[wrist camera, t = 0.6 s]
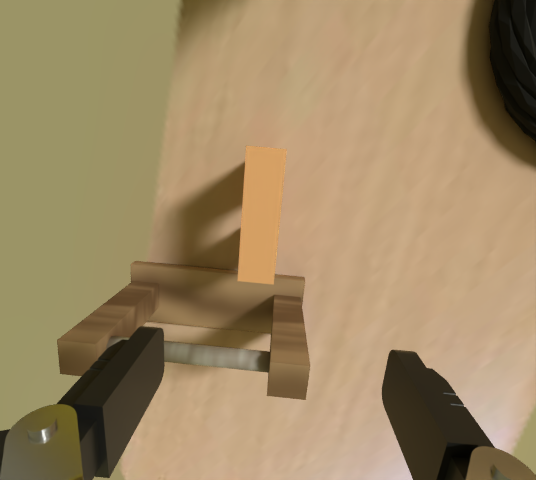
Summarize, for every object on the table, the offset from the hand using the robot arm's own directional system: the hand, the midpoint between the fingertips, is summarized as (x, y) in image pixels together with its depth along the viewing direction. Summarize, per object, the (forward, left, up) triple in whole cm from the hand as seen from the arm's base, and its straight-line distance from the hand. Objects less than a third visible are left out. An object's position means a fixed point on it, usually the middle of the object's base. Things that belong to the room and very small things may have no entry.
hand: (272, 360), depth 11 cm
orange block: (-3, -2, -24) cm, 24 cm away
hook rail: (+9, -7, -24) cm, 27 cm away
